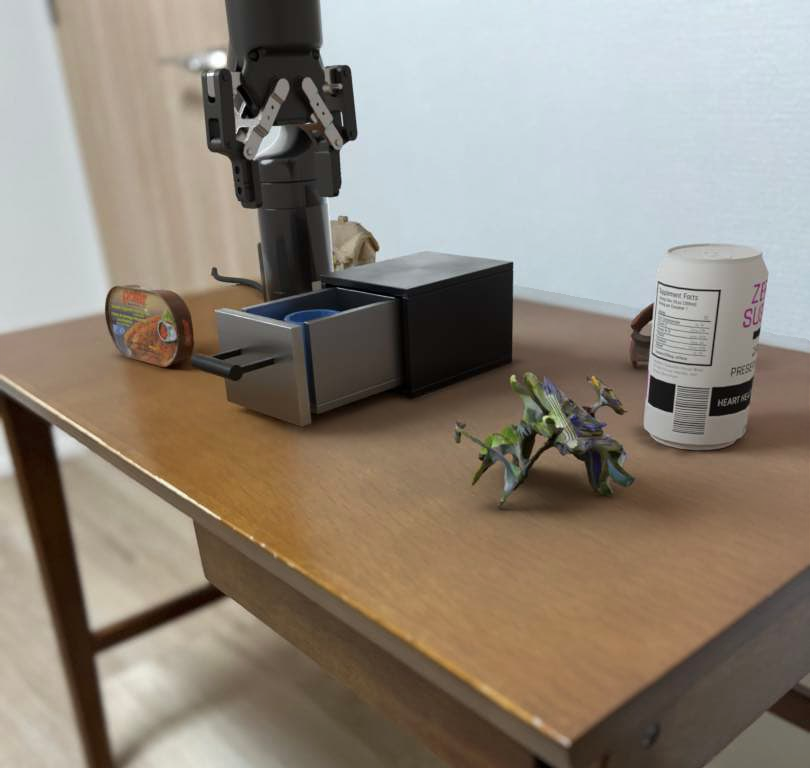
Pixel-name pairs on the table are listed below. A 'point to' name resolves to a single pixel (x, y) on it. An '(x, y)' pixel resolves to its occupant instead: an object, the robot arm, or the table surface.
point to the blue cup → (299, 319)
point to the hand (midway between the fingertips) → (292, 202)
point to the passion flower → (555, 436)
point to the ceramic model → (351, 244)
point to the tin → (149, 324)
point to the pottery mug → (641, 337)
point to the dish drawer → (309, 352)
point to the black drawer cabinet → (443, 314)
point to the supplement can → (704, 344)
